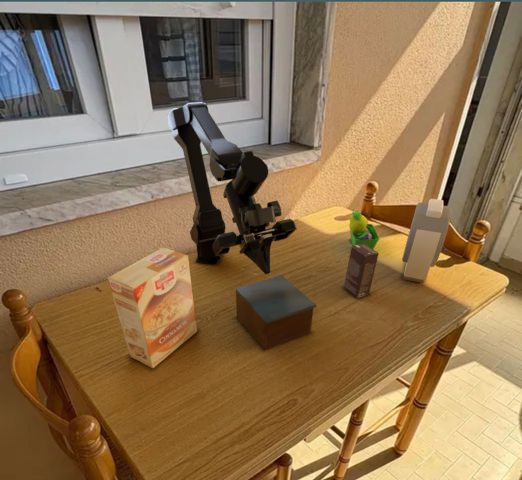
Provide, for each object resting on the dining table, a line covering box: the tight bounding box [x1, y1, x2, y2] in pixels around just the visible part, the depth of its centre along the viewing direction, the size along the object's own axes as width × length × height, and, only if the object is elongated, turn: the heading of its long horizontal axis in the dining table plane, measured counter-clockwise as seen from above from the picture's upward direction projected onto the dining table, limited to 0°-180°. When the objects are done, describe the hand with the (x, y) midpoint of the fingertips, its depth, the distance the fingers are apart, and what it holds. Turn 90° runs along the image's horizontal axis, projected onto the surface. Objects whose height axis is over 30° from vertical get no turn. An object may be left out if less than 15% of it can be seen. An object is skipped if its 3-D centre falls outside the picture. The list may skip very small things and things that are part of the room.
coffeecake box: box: [107, 246, 198, 369], centre depth 78 cm, size 15×7×20 cm, turn 148°
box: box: [343, 244, 380, 299], centre depth 98 cm, size 6×4×12 cm
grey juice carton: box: [401, 198, 453, 284], centre depth 103 cm, size 18×8×20 cm, turn 158°
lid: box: [235, 274, 317, 324], centre depth 85 cm, size 14×12×1 cm
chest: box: [235, 290, 314, 350], centre depth 88 cm, size 13×12×8 cm
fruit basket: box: [348, 211, 380, 250], centre depth 118 cm, size 11×9×11 cm
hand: (267, 273), depth 84 cm, fingers closed
